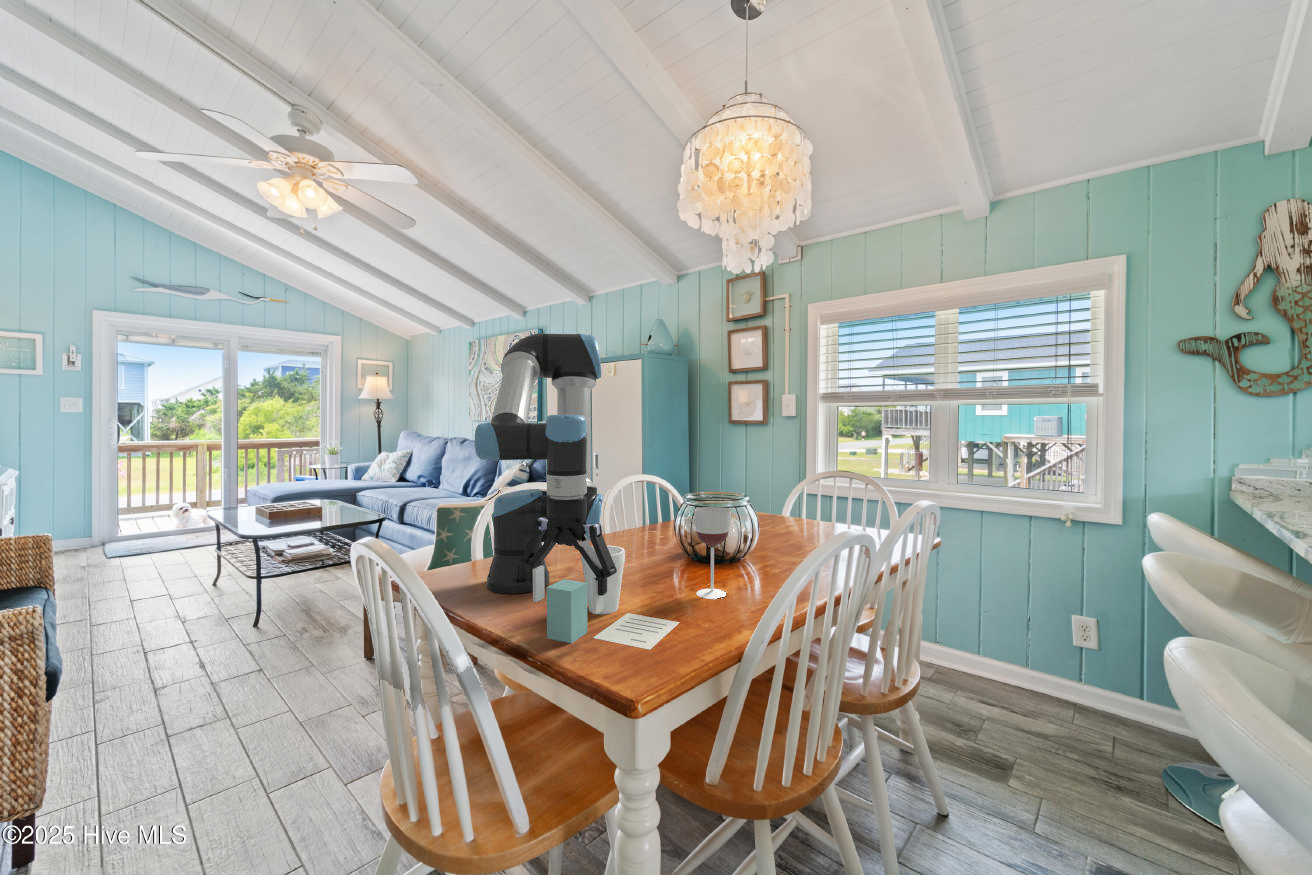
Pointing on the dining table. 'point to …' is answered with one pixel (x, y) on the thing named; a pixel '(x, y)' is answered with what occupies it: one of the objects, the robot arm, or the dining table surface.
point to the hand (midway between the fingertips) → (567, 605)
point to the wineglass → (712, 538)
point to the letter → (637, 631)
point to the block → (566, 610)
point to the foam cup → (612, 582)
